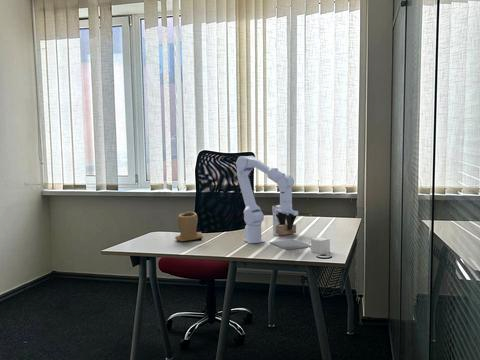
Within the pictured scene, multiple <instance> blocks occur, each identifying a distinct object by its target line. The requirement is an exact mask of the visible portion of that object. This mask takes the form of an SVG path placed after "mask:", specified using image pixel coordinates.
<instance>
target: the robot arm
mask: <svg viewBox="0 0 480 360" xmlns="http://www.w3.org/2000/svg"><path fill="white" fill-rule="evenodd" d="M235 166H236V177H237V181H238V185H239V188H240V191H241V194H242V198H243V202H244V205H245V208H244V210H243V220H244V222H245V224H246V225H245V226H244V238H243V242H246V243H249V244H257V243H265V240H262V223H263V221H264V219H265V215H264V213H263V211H262V210H261V207H260V205H257V202H256V199H255V195H254V192H253V189H252V185H251V182H250V178H249V174H250V173H251V171H253V169H257V170H258V171H260V172H263V174H266V177H267V178H268V179H269V180H270V181H272V182H273V183H275V184H277V186H278V190H279V205H280V209H275V213H278V214H276V217H277V218H278V220H279V223H280V225H284V224H285V219H287V226H288V230H291V229H292V227H293V224H294V223H295V220H296V218H297V216H299V211H298V210H294V209H293V210H292V205H293V194H292V193H293V190H292V189H293V188H292V187H293V186H294V184H295V180H294V178H293V177H292V176H291V175H290V174H289V175H286V173H284V172H281V171H280V170H279V169H278V168H277V167H272V168H271V167H269V166H268V165H267V164H265V163H264V162H262V161H261V160H260V159H259V158H258V157H255V156H254V155H248V156H247V155H246V156H244V155H240V156H238V157H237V159H236V161H235ZM287 214H289V215H287Z"/></svg>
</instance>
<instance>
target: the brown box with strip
mask: <svg viewBox="0 0 480 360" xmlns="http://www.w3.org/2000/svg"><path fill="white" fill-rule="evenodd" d="M292 233H293V234H297V224H294V223H293V227H292V229H291V230H288V226H287V224H284V225H277V226H276V234H280V235H283V236H287V235H286V234H288V235H293V234H292Z"/></svg>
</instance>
